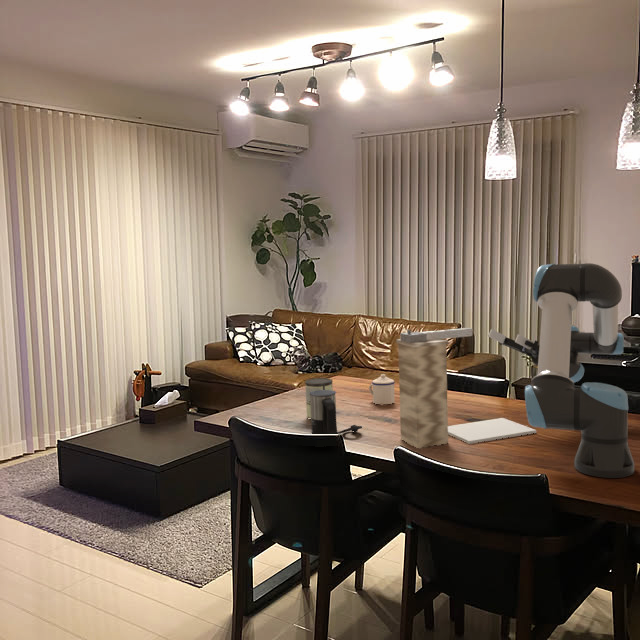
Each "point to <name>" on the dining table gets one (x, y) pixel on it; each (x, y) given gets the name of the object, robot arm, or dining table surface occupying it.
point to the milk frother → (325, 413)
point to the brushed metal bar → (434, 335)
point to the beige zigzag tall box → (423, 392)
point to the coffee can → (316, 389)
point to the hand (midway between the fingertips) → (503, 335)
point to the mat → (488, 430)
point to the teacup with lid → (382, 390)
